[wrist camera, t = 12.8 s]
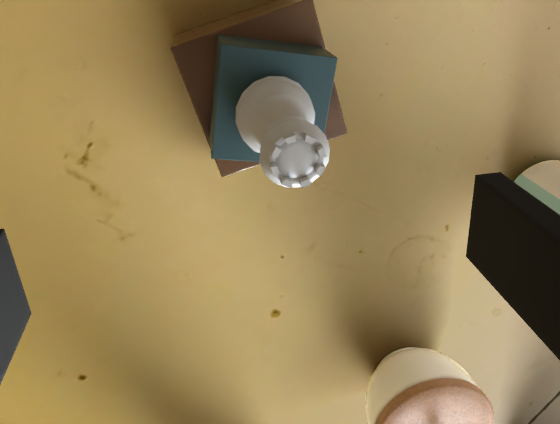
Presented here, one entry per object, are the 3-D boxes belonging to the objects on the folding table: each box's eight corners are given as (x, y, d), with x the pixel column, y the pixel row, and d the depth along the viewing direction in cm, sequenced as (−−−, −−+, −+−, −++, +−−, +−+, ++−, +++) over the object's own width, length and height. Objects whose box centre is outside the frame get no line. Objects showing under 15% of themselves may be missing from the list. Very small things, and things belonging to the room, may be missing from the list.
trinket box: (476, 357, 54) (529, 431, 46) (404, 425, 57) (441, 507, 48) (404, 309, 50) (447, 381, 42) (329, 385, 53) (356, 467, 44)
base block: (172, 35, 37) (170, 47, 32) (297, -8, 37) (311, -3, 32) (218, 153, 41) (222, 177, 36) (330, 113, 41) (347, 133, 36)
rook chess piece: (218, 122, 30) (227, 175, 23) (265, 57, 29) (289, 91, 22) (280, 164, 32) (306, 224, 25) (326, 103, 31) (368, 149, 24)
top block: (217, 34, 32) (221, 44, 29) (321, 46, 33) (337, 57, 30) (209, 137, 35) (211, 159, 31) (306, 145, 36) (319, 166, 33)
